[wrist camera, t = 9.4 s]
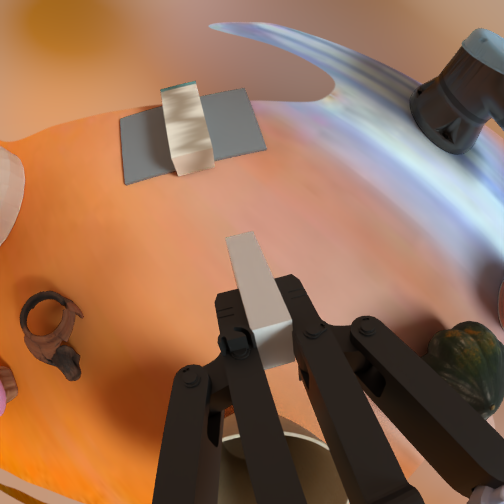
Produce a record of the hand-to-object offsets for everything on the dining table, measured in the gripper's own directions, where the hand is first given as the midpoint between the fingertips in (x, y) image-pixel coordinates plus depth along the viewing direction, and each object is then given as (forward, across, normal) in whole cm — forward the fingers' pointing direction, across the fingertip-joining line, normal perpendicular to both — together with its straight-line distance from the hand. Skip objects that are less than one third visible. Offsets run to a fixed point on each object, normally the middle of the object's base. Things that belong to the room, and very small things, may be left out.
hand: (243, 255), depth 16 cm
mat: (+31, +2, -2) cm, 31 cm away
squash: (0, -24, +29) cm, 38 cm away
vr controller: (+13, +25, +15) cm, 32 cm away
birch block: (+23, +2, +1) cm, 23 cm away
